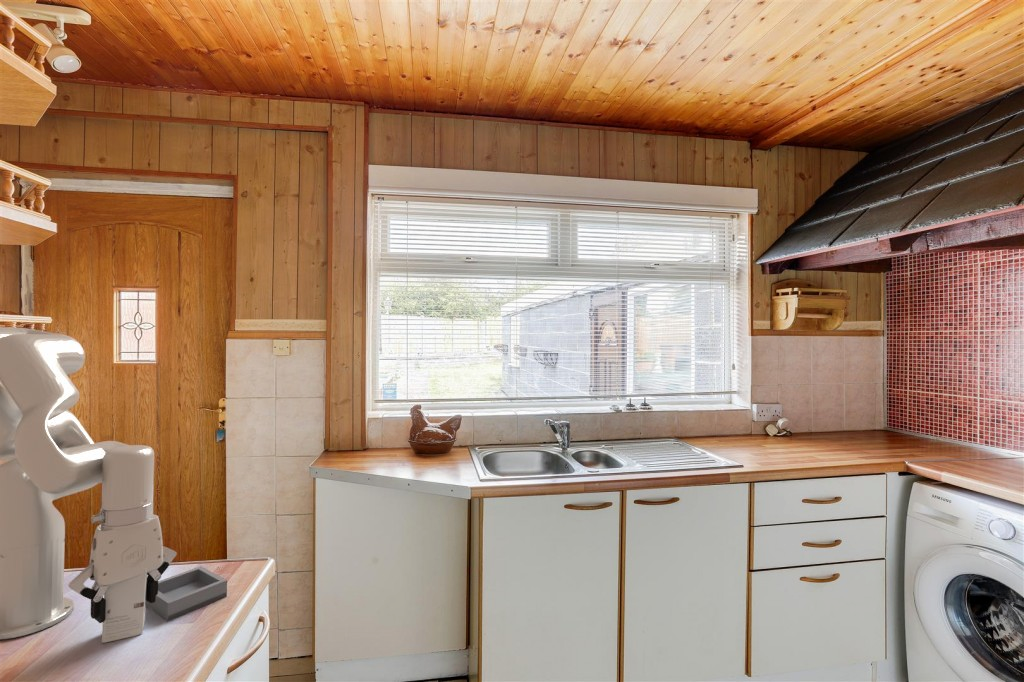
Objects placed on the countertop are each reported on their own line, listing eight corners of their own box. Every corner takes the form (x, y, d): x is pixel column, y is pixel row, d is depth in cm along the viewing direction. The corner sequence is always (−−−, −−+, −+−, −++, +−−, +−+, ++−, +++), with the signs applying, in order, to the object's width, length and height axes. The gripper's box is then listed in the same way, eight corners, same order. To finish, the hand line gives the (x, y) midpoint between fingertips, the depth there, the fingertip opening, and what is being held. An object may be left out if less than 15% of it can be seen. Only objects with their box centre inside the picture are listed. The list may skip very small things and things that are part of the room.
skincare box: (101, 644, 86) (102, 576, 86) (104, 631, 89) (106, 566, 89) (144, 633, 89) (146, 568, 89) (146, 621, 93) (148, 558, 93)
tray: (142, 603, 99) (143, 586, 99) (200, 581, 108) (201, 566, 108) (167, 621, 93) (168, 603, 93) (226, 596, 102) (227, 580, 102)
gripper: (74, 534, 80) (71, 641, 80) (189, 505, 94) (187, 595, 94) (58, 523, 84) (55, 626, 84) (171, 497, 98) (169, 584, 98)
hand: (125, 609), depth 89 cm, fingers closed on skincare box, 7 cm apart
